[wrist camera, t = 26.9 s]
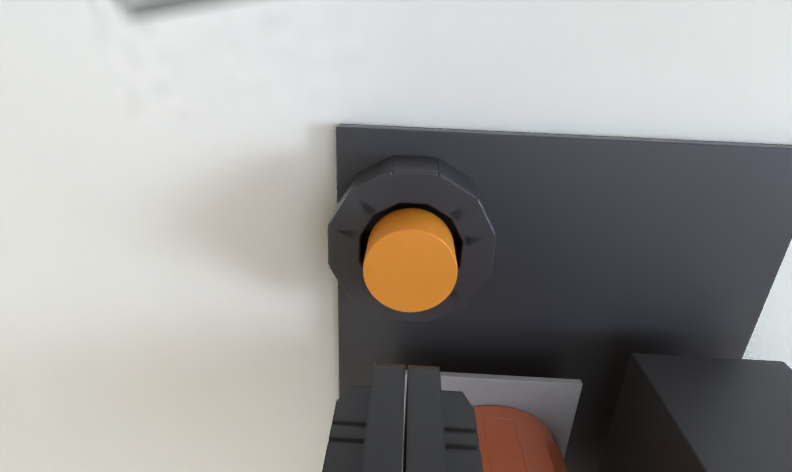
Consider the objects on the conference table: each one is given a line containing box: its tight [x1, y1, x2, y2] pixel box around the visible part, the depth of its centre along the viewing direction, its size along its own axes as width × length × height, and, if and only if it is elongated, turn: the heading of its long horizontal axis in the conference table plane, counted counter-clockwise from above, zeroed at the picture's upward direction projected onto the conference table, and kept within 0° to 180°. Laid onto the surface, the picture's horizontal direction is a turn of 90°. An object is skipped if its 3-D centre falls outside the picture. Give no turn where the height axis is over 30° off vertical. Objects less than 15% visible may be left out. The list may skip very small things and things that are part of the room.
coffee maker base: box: [328, 124, 792, 472], centre depth 22 cm, size 18×20×3 cm
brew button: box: [363, 208, 458, 312], centre depth 17 cm, size 3×3×2 cm
